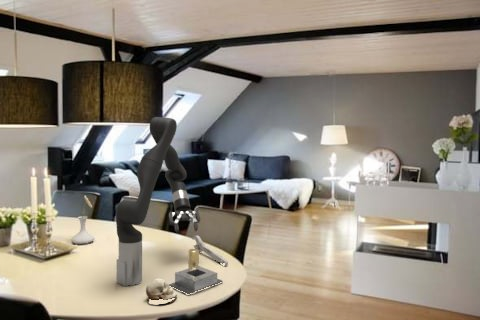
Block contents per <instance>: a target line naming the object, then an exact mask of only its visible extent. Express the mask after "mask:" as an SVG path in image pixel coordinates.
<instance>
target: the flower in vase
mask: <svg viewBox="0 0 480 320" xmlns="http://www.w3.org/2000/svg"><path fill="white" fill-rule="evenodd" d="M84 200H85V203H84V205H83V208H82V212H81V213H80V216H78V217H77V219H78V220H79V223H80V229H79V232H78V233H76V234H75V235H74V236H73V237H72V238H71V242H72V243H74V244H81V245H82V244H89V243H92V242H93V241H94V240H95V237H94V235H92V234H91V233H89V232H88V231H87V230H86V221H87V219H88V216H87V215H84V214H86V213H87V212H86V209H85V207H86V204H87V205H88V206H89V207H90V208H91V209H92V208H93V205H92V203H91V201H90V200H89V198H88V197H87V196H86V195H84Z"/></svg>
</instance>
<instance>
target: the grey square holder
mask: <svg viewBox="0 0 480 320" xmlns="http://www.w3.org/2000/svg"><path fill="white" fill-rule="evenodd" d="M220 282H222V283H223V280H222V279H219V278H218V272H216V271H214V270H212V269H211V270H210V269H208V268H205V267H202V266H195V267H192V268H186V269H182V270H180V271H175V273H174V282H172V283H168V284H169V286H171V287H174V288H176V289H178V290H180V291H183V292H185V293H187V294H190V293H193V292H195V291H198V290H201V289H204V288H206V287H209V286H212V285H215V284H218V283H220Z"/></svg>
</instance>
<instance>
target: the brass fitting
mask: <svg viewBox="0 0 480 320" xmlns="http://www.w3.org/2000/svg"><path fill="white" fill-rule="evenodd" d="M199 255H200V253H199V250H198V249H195V248H190V249H188V266H187V267H188V268H192V267H195V266H199V265H200V264H199V261H200V256H199ZM188 268H187V269H188Z"/></svg>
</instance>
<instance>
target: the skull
mask: <svg viewBox="0 0 480 320" xmlns="http://www.w3.org/2000/svg"><path fill="white" fill-rule="evenodd" d="M169 284H170V283H167V282H166V280H165V279H164V278H154V279H153V280H151V281H150V282H149V283H148V284H147V285H146V289H145V290H146V291H145V292H146V293H145V294H146V297H147V298H148V300H149V299H151V300H159V299H163V300H168V299H172V298H175V299H174V300H172V302H174V301H175V300H176V299H177V298H178V296H177V295H178V294H176V292H175V291H174V289H172V288H171V287H170V286H169ZM176 296H177V297H176Z"/></svg>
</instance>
